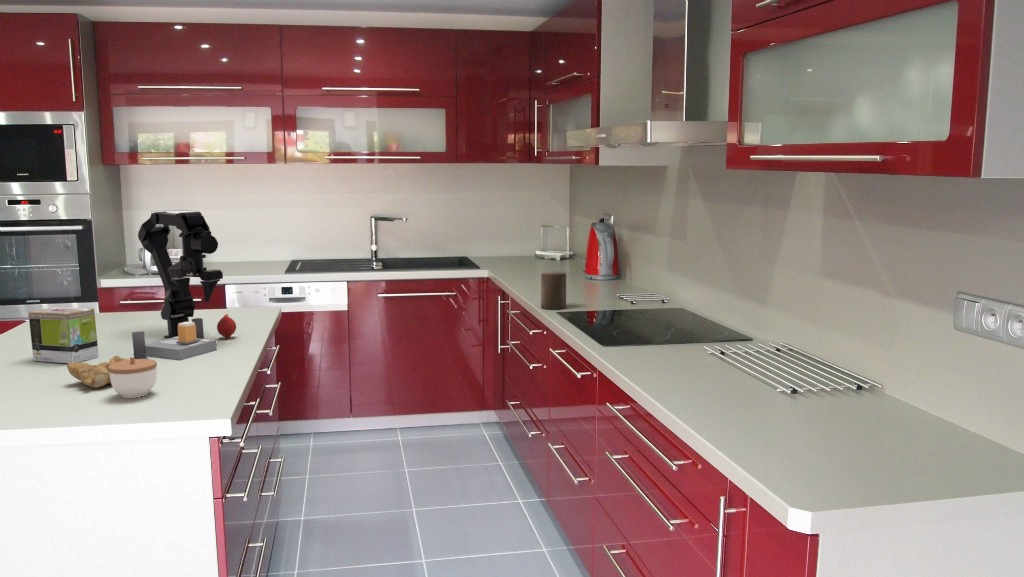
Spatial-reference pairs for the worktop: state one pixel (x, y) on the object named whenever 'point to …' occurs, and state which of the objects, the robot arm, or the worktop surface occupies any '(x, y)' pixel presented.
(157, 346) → the panel
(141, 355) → the cable post
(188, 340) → the block
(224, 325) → the onion
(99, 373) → the ginger root
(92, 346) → the tea box
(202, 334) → the cable post
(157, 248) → the robot arm
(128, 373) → the lidded jar
